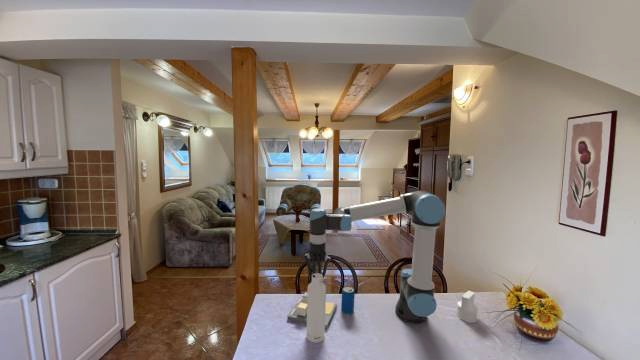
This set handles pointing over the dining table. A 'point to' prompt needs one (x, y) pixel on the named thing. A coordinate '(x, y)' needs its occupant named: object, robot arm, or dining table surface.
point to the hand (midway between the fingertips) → (317, 289)
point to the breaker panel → (294, 317)
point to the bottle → (316, 309)
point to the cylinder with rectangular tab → (467, 308)
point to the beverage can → (347, 300)
